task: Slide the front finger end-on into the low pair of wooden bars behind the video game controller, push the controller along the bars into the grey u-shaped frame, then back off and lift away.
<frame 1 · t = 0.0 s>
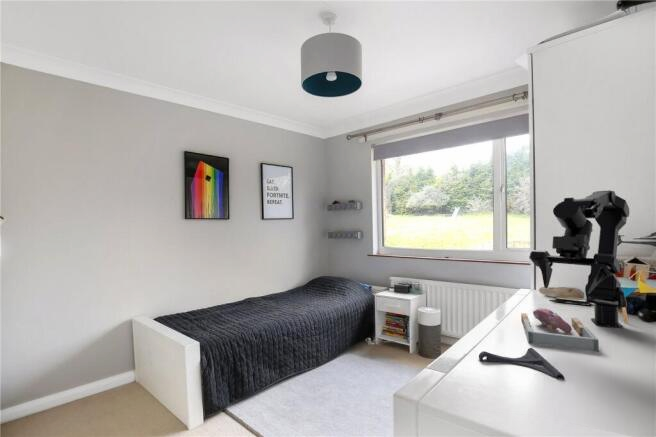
hand: (565, 290, 84), 15 cm above the table, tool tilted 35°, fingers open, 9 cm apart
grey u-shaped frame: (558, 340, 89), on the table
video game controller: (551, 328, 100), on the table
pair of wooden bars: (551, 328, 99), on the table
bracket: (513, 365, 77), on the table
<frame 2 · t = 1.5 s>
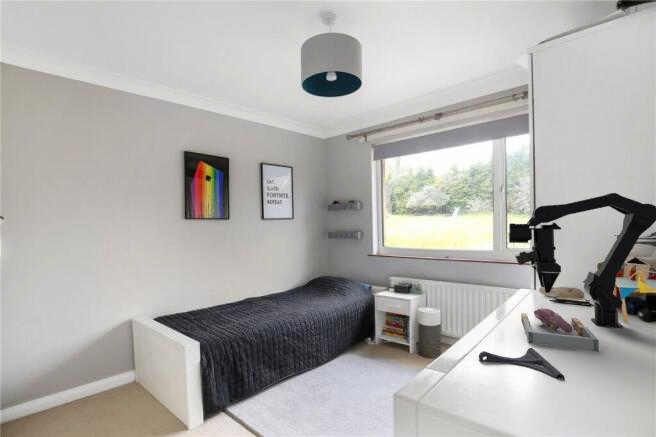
hand: (545, 289, 109), 10 cm above the table, tool pointing down, fingers open, 9 cm apart
nothing on the table moved.
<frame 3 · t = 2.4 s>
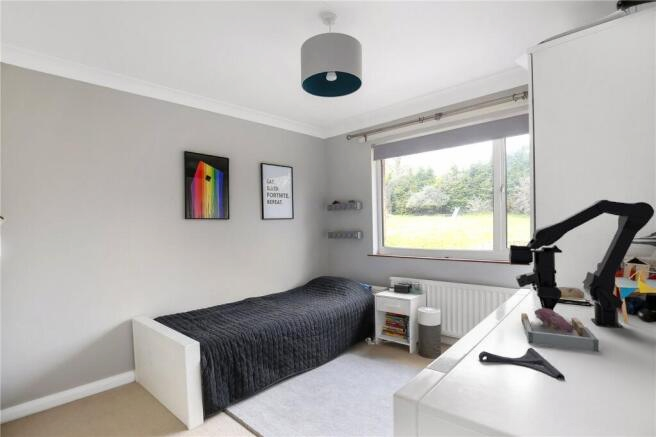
hand: (545, 312, 109), 2 cm above the table, tool pointing down, fingers open, 8 cm apart
video game controller: (552, 328, 100), on the table, touching gripper
everything else where it was.
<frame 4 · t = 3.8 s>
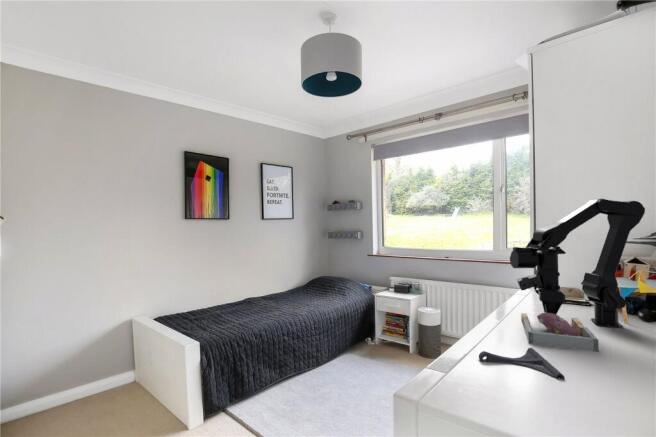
hand: (548, 317, 104), 2 cm above the table, tool pointing down, fingers open, 8 cm apart
video game controller: (556, 334, 95), on the table, touching gripper
everything else where it was.
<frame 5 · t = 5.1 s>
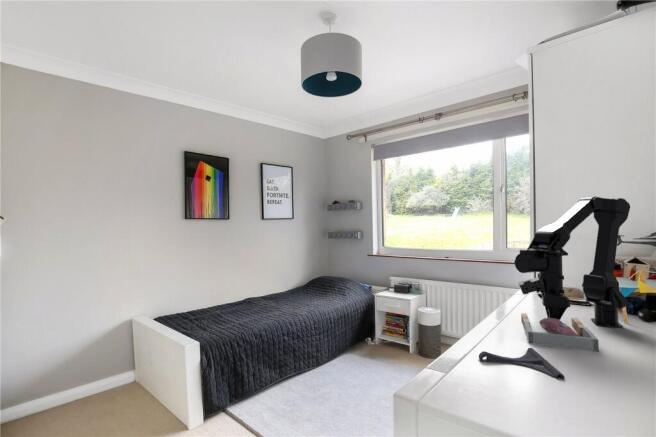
hand: (552, 322, 98), 2 cm above the table, tool pointing down, fingers open, 7 cm apart
video game controller: (560, 340, 90), on the table, touching grey u-shaped frame, gripper
everything else where it was.
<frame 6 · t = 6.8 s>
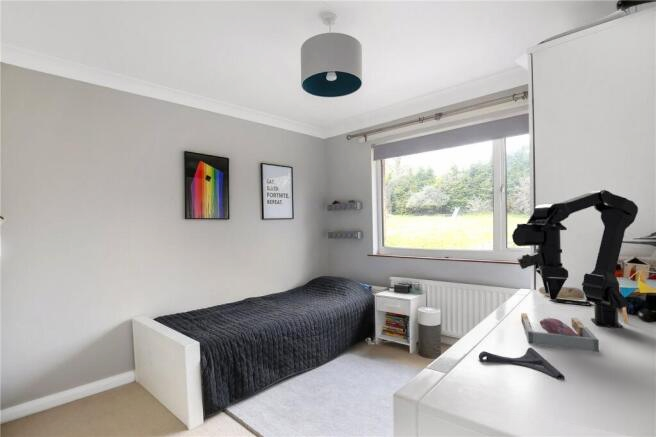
hand: (550, 296, 99), 10 cm above the table, tool pointing down, fingers open, 9 cm apart
video game controller: (560, 340, 90), on the table
everything else where it was.
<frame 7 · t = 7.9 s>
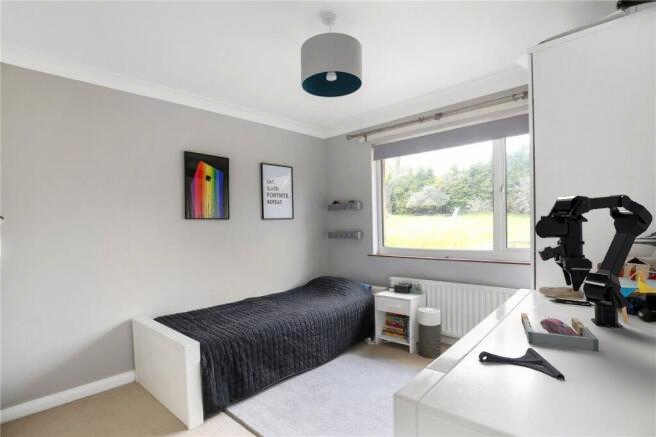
hand: (572, 288, 100), 12 cm above the table, tool pointing down, fingers open, 9 cm apart
nothing on the table moved.
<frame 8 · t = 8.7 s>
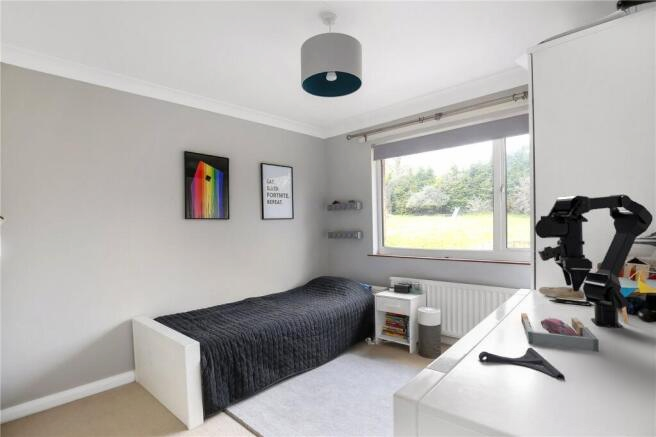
hand: (572, 288, 100), 12 cm above the table, tool pointing down, fingers open, 9 cm apart
nothing on the table moved.
at the end: video game controller inside the target area (1.1 cm from its centre), on the table; video game controller tilted 0°; the gripper is holding nothing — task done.
